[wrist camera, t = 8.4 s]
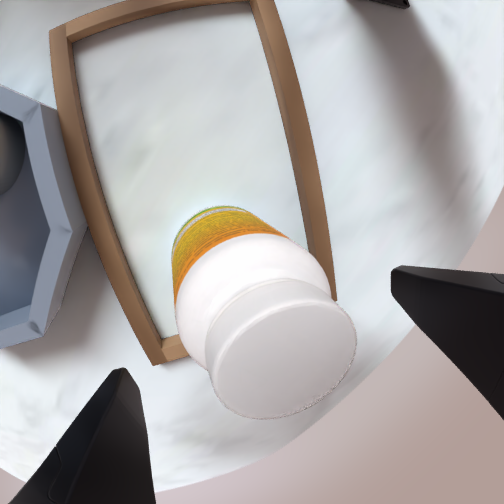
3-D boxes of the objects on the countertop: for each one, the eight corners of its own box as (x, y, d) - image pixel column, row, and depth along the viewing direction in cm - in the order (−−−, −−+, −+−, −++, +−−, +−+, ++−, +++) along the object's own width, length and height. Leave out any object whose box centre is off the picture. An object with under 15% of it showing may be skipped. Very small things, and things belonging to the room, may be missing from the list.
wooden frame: (261, -12, 11) (266, -20, 10) (329, 294, 18) (337, 300, 18) (54, 37, 9) (48, 30, 8) (152, 356, 16) (152, 366, 15)
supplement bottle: (152, 266, 15) (141, 403, 6) (211, 182, 14) (283, 220, 5) (230, 313, 17) (292, 446, 8) (286, 240, 16) (405, 327, 8)
